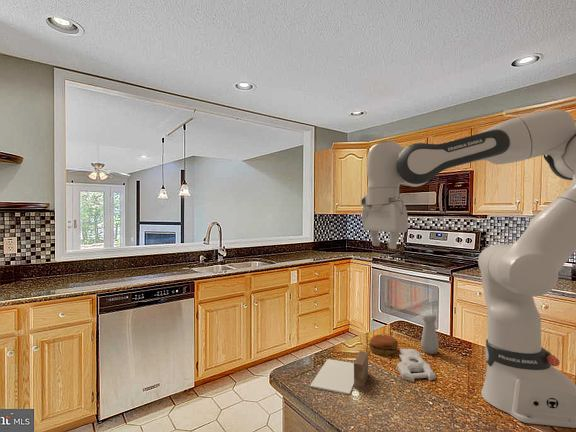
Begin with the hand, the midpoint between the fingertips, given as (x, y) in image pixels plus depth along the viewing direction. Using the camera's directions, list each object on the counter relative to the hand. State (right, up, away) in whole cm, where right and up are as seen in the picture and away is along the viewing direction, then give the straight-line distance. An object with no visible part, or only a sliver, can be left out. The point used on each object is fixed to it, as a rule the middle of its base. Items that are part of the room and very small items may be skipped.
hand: (383, 247), depth 93 cm
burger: (+6, -38, +21) cm, 44 cm away
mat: (-13, -38, +3) cm, 40 cm away
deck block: (-6, -38, 0) cm, 39 cm away
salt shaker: (+21, -38, +19) cm, 48 cm away
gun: (+11, -39, +7) cm, 41 cm away
